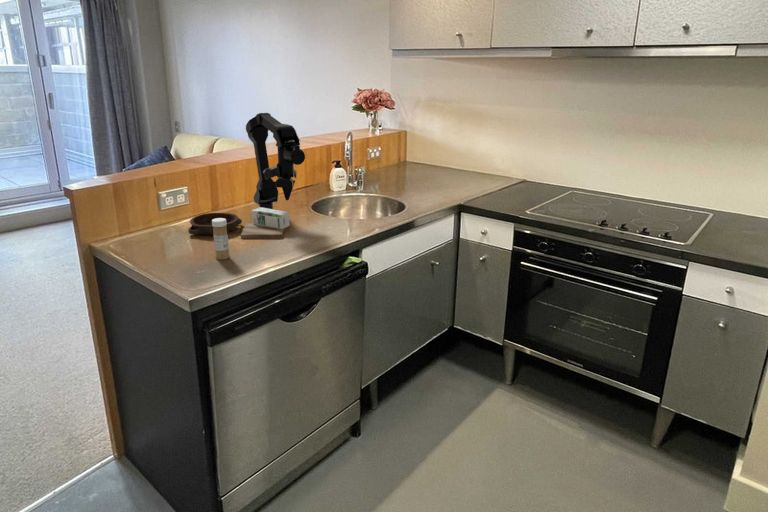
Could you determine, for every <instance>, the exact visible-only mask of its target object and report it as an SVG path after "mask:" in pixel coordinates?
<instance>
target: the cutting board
mask: <svg viewBox="0 0 768 512" xmlns="http://www.w3.org/2000/svg"><path fill="white" fill-rule="evenodd" d="M285 230H286V228H283V229H278V228H273V227H267V226H262V225H256V224H252V221H247V223H246V224H245V227H244V228H243V230H242V232H241V233H240V239H282V238H283V235H284V232H285Z"/></svg>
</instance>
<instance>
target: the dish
mask: <svg viewBox="0 0 768 512" xmlns="http://www.w3.org/2000/svg"><path fill="white" fill-rule="evenodd" d="M216 218H225V219H226V222H227V226H226V228H227V233H230V232H232V231H234V230H235V229H236V226H240V225H241V224H243V221H242V218H240V217H239V215H237V214H234V213H228V212H207V213H201V214H199V215H196V216H194V217H192V218H191V219H190V220H189V224H190V225H191V226H190V227H189V228H188V230H187V231H188V233H189V234H191V235H198V234H199V235H206V236H214V232H213V226H212V220H213V219H216Z"/></svg>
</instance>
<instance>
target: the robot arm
mask: <svg viewBox="0 0 768 512" xmlns="http://www.w3.org/2000/svg"><path fill="white" fill-rule="evenodd" d="M245 132H246V133H247V136H248V139H249V140H250V142H251V143H252V144H253V148H254V156H255V161H256V168H257V169H256V170H257V174H258V181H257V184H256V187H255V188H256V191H255V193H254V194H253V195H254V196H253V202H254V203H255V204H257V205H258V208H259V207H262V208H268V209H274V203H277V202H278V199H279V189H278V188H281V189H282V191H283V192H282V193H283V196H284V199H285V201H289V200H290V198H291V195H292V192H293V189H294V185H295V183H296V180H294V179H293V178H295V179H297V176H298V175H297V171H296V170H295V168H294V166H295V165H296V166H299V165H301V164H303V163H304V161H305V159H306V155H305V152H304V150H302V149H301V146H300V145H301V143H300V142H301V140H300V138H299V135H298V134H297V131H296V129H295V127H294V126H293V125H290V124H287V123H282V122H280V121H279V120H278V119H276V118H274V116H272V115H271V113H269V112H259V113H257V114H256V115H255V116H254V117H252V118H251V119H248V121H247V123H246V125H245ZM269 132H271V133H272V137H273V139H274V140H275V141H276V143H275V146H276V147H277V164H276V165H275V166H272V167H270V163H269V158H268V157H269V156H268V151H267V143H266V141H267V139H268V137H269ZM274 177H276V178H277V179H276V180H273V179H272V178H274Z"/></svg>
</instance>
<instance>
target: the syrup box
mask: <svg viewBox="0 0 768 512" xmlns="http://www.w3.org/2000/svg"><path fill="white" fill-rule="evenodd" d="M250 211H251V222H252V224H256V225H262V226H267V227H273V228H278V229H283V228H285V229H286V228H288V227H290V225H291V224H290V223H291V221H290V212H289V211H284V210H278V209H274V208H273V209H268V208H262V207H259V206H258V207H256V208H254V209H252V210H250Z"/></svg>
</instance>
